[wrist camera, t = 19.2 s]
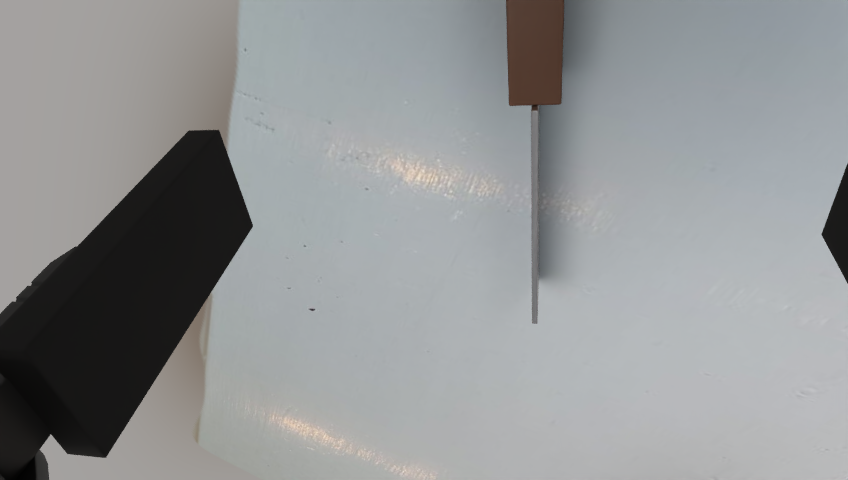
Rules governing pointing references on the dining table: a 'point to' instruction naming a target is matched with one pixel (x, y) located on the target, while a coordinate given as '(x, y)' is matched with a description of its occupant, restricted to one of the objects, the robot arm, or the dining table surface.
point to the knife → (535, 84)
